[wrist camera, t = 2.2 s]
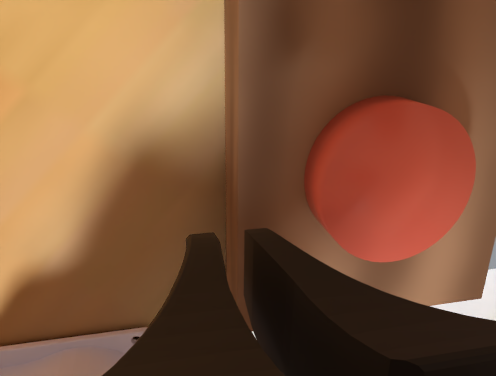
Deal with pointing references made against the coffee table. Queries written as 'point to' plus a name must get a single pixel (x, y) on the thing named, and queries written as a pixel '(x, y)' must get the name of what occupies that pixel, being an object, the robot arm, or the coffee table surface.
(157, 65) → the coffee table surface
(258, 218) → the board
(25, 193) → the coffee table surface
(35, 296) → the coffee table surface
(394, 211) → the red ball
